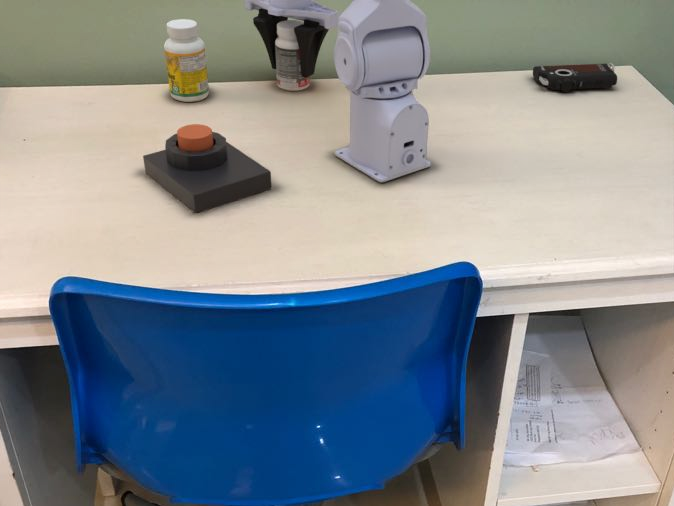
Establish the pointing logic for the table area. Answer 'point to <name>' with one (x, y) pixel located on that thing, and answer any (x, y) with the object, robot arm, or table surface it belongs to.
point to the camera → (576, 76)
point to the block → (207, 173)
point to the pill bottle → (289, 57)
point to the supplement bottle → (186, 61)
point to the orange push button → (195, 137)
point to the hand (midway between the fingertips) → (292, 71)
